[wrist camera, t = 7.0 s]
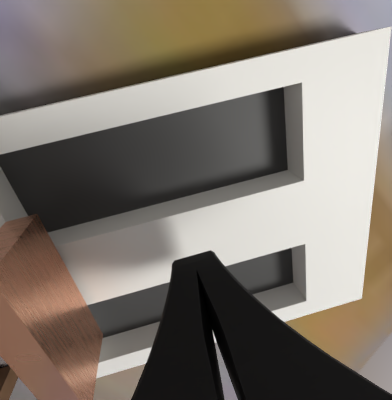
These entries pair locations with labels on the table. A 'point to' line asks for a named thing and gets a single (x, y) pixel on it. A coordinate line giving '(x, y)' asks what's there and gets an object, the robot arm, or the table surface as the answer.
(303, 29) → the table surface
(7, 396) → the brown wooden stool
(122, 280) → the pit board
